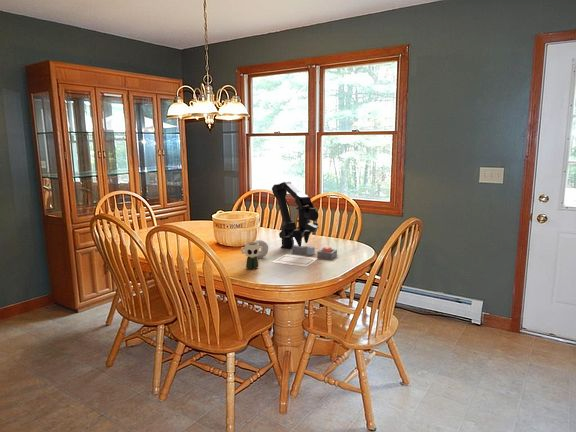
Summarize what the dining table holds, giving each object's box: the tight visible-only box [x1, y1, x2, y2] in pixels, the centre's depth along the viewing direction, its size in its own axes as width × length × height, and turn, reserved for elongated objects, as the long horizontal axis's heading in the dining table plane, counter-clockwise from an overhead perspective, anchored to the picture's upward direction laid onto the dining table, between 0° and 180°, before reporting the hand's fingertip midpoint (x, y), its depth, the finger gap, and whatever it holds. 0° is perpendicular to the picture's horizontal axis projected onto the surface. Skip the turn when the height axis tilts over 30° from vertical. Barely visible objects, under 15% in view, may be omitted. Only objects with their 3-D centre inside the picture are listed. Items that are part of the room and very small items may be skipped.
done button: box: [322, 246, 333, 253], centre depth 236 cm, size 5×5×4 cm
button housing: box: [316, 247, 338, 260], centre depth 237 cm, size 8×8×4 cm
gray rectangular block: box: [292, 244, 316, 256], centre depth 244 cm, size 12×4×4 cm, turn 64°
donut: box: [254, 239, 269, 259], centre depth 234 cm, size 10×3×10 cm, turn 99°
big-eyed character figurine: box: [240, 241, 263, 270], centre depth 216 cm, size 11×7×13 cm, turn 101°
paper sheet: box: [272, 253, 320, 268], centre depth 230 cm, size 20×17×1 cm
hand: (303, 244), depth 243 cm, fingers open, 9 cm apart
